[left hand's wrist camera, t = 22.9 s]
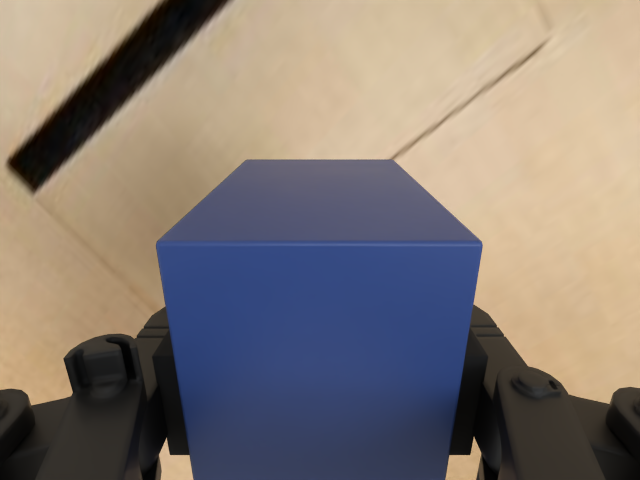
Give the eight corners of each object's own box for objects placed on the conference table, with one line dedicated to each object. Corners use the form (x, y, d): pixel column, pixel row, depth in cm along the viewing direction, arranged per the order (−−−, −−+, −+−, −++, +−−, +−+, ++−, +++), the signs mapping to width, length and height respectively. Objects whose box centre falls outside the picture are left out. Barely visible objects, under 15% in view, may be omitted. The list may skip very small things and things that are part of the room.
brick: (258, 355, 17) (207, 574, 9) (245, 159, 14) (153, 241, 6) (380, 355, 17) (431, 574, 9) (394, 159, 14) (485, 241, 6)
